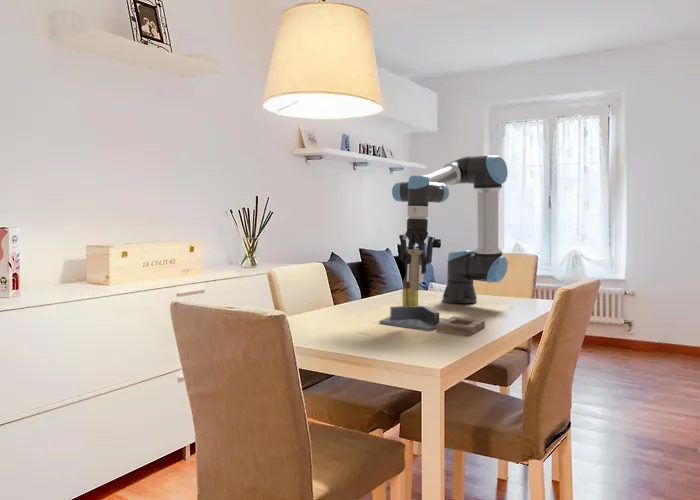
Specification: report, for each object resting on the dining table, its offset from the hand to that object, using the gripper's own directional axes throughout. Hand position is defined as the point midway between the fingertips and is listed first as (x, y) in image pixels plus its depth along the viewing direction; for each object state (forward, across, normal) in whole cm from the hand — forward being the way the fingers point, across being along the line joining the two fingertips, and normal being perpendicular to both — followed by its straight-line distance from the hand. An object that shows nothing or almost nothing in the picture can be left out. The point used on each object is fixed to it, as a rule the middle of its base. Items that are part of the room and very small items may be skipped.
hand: (415, 281), depth 210 cm
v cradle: (+15, 0, +1) cm, 15 cm away
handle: (+3, 0, 0) cm, 3 cm away
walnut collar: (+15, +18, +1) cm, 24 cm away
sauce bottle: (+16, -9, +16) cm, 24 cm away
